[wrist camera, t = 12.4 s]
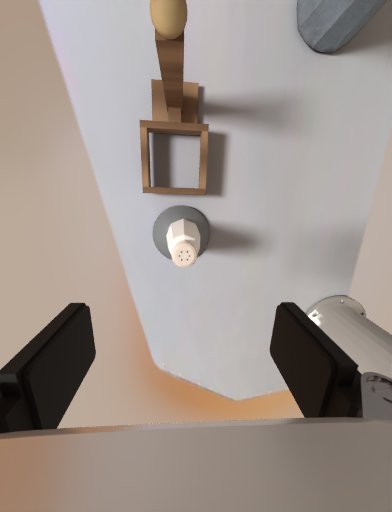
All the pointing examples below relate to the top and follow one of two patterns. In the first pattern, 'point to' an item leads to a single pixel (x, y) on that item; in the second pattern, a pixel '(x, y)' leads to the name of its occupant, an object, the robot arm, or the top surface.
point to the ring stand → (172, 93)
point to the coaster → (173, 216)
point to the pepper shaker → (183, 242)
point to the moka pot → (333, 21)
